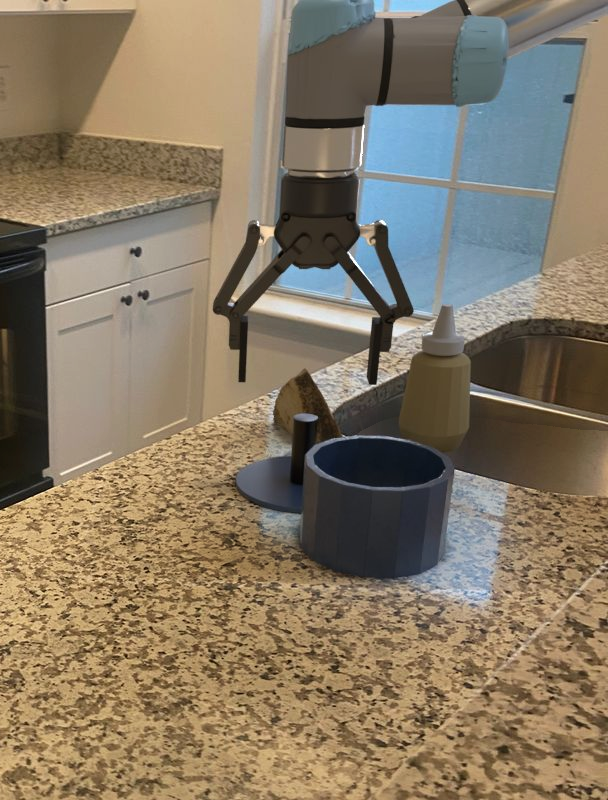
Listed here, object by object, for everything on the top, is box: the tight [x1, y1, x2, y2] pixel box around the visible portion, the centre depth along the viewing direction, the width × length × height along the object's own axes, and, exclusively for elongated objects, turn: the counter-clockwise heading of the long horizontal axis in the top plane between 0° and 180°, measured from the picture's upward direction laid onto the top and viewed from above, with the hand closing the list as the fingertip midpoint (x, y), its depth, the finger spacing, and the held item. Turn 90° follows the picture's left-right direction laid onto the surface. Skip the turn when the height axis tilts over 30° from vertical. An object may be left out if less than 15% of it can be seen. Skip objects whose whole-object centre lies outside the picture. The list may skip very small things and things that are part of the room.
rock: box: [272, 367, 343, 444], centre depth 128 cm, size 11×9×10 cm
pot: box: [299, 434, 456, 580], centre depth 100 cm, size 14×14×10 cm
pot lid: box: [235, 413, 318, 514], centre depth 113 cm, size 15×15×9 cm
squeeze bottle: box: [398, 303, 472, 454], centre depth 120 cm, size 8×8×18 cm
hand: (306, 380), depth 109 cm, fingers open, 13 cm apart
